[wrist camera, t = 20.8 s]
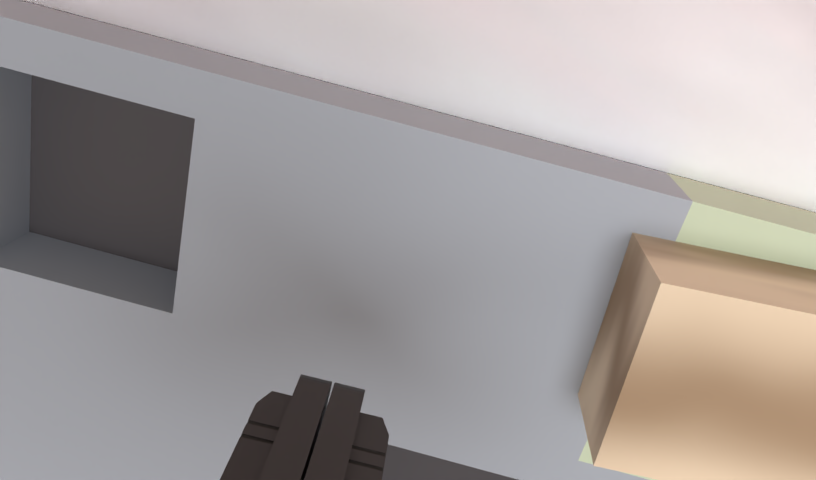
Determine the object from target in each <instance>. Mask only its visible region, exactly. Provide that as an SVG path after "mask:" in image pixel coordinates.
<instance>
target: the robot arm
mask: <svg viewBox="0 0 816 480" xmlns="http://www.w3.org/2000/svg"><path fill="white" fill-rule="evenodd" d="M331 386H332V382H331V381H327V380H323V379H319V378H315V377H311V376H307V375H303V374H301V375H300V378H299V380H298V382H297V385H296V387H295V390H294V392H293V395H292V396H291V395H287V394H283V393H279V392H275V391H271V392H270V393H269V394H267V395H266V396H265V397H263V398H262V399H261V400H259V401H258V402H257V403H256V404H255V406H254V408H253V411H252V413H251V415H250V417H249V419H248V422H247V423H246V425H245V427H244V429H243V432H242V434H241V437H240V438H239V440H238V442H237V444H236V446H235V448H234V451H233V453H232V455H231V457H230V459H229V461H228V463H227V465H226V467H225V470H224V472H223V474H222V476H221V478H220V480H382V476H383V469H384V464H385V458H386V452H387V446H388V440H389V434H388V431H387V428H386V426H385V423H384V420H383V418H382V417H378V416H374V415H369V414H365V413H361V412H360V411H361V406H362V402H363V398H364V394H365V390H364V389H360V388H356V387H352V386H348V385H344V384H340V383H336V382H335V383H334V386H333V389H332V392H331V395H330V391H331ZM329 395H330V399H329ZM328 399H329V402H328ZM327 404H328V405H327Z"/></svg>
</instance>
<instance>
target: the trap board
mask: <svg viewBox="0 0 816 480" xmlns="http://www.w3.org/2000/svg"><path fill="white" fill-rule="evenodd" d="M632 233H637V234H642V235H647V236H652V237H657V238H662V239H666V240H671V241H676V242H681V243H686V244H691V245H696V246H701V247H705V248H710V249H715V250H720V251H725V252H730V253H735V254H740V255H744V256H749V257H754V258H759V259H764V260H769V261H774V262H779V263H784V264H788V265H793V266H798V267H803V268H808V269H813V270H816V213H815V212H811V211H807V210H803V209H800V208H796V207H792V206H788V205H785V204H781V203H777V202H773V201H770V200H766V199H762V198H759V197H755V196H751V195H747V194H744V193H740V192H736V191H732V190H729V189H725V188H721V187H717V186H714V185H710V184H706V183H702V182H699V181H695V180H691V179H687V178H684V177H680V176H676V175H673V174H669V173H665V172H661V171H658V170H654V169H650V168H646V167H643V166H639V165H635V164H631V163H628V162H624V161H620V160H616V159H613V158H609V157H605V156H601V155H598V154H594V153H590V152H587V151H583V150H579V149H575V148H572V147H568V146H564V145H560V144H557V143H553V142H549V141H545V140H542V139H538V138H534V137H530V136H527V135H523V134H519V133H515V132H512V131H508V130H504V129H501V128H497V127H493V126H489V125H486V124H482V123H478V122H474V121H471V120H467V119H463V118H459V117H456V116H452V115H448V114H444V113H441V112H437V111H433V110H429V109H426V108H422V107H418V106H415V105H411V104H407V103H403V102H400V101H396V100H392V99H388V98H385V97H381V96H377V95H373V94H370V93H366V92H362V91H358V90H355V89H351V88H347V87H343V86H340V85H336V84H332V83H329V82H325V81H321V80H317V79H314V78H310V77H306V76H302V75H299V74H295V73H291V72H287V71H284V70H280V69H276V68H272V67H269V66H265V65H261V64H257V63H254V62H250V61H246V60H243V59H239V58H235V57H231V56H228V55H224V54H220V53H216V52H213V51H209V50H205V49H201V48H198V47H194V46H190V45H186V44H183V43H179V42H175V41H171V40H168V39H164V38H160V37H157V36H153V35H149V34H145V33H142V32H138V31H134V30H130V29H127V28H123V27H119V26H115V25H112V24H108V23H104V22H100V21H97V20H93V19H89V18H85V17H82V16H78V15H74V14H71V13H67V12H63V11H59V10H56V9H52V8H48V7H44V6H41V5H37V4H33V3H29V2H26V1H22V0H0V480H220V478H221V476H222V474H223V472H224V470H225V467H226V465H227V463H228V461H229V459H230V457H231V455H232V453H233V451H234V448H235V446H236V444H237V442H238V440H239V438H240V437H241V434H242V432H243V429H244V427H245V425H246V423H247V422H248V419H249V417H250V415H251V413H252V411H253V408H254V406H255V404H256V403H257V402H258V401H259V400H261V399H262V398H263V397H265V396H266V395H267V394H269V393H270V392H271V391H275V392H279V393H283V394H287V395H291V396H292V395H293V392H294V390H295V387H296V385H297V382H298V380H299V378H300V375H301V374H303V375H307V376H311V377H315V378H319V379H323V380H327V381H331V382H332V386H331V391H330V395H331V392H332V389H333V386H334V383H335V382H336V383H340V384H344V385H348V386H352V387H356V388H360V389H364V390H365V394H364V398H363V402H362V406H361V411H360V412H361V413H365V414H369V415H374V416H378V417H382V418H383V420H384V423H385V426H386V428H387V431H388V434H389V440H388V446H387V452H386V458H385V464H384V469H383V476H382V480H657V479H652V478H647V477H643V476H638V475H633V474H629V473H624V472H620V471H615V470H610V469H606V468H601V467H596V466H594V465H593V461H592V456H591V452H590V447H589V443H588V438H587V434H586V429H585V425H584V420H583V416H582V411H581V407H580V402H579V398H578V392H579V389H580V386H581V383H582V380H583V377H584V374H585V371H586V368H587V365H588V362H589V359H590V357H591V354H592V351H593V348H594V345H595V342H596V339H597V336H598V333H599V330H600V327H601V324H602V321H603V318H604V315H605V312H606V309H607V306H608V303H609V300H610V297H611V294H612V291H613V289H614V286H615V283H616V280H617V277H618V274H619V271H620V268H621V265H622V262H623V259H624V256H625V253H626V250H627V247H628V244H629V241H630V238H631V235H632ZM330 395H329V399H330ZM329 399H328V402H329ZM327 405H328V404H327Z"/></svg>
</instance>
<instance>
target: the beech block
mask: <svg viewBox="0 0 816 480" xmlns="http://www.w3.org/2000/svg"><path fill="white" fill-rule="evenodd" d="M578 398H579V402H580V407H581V411H582V416H583V420H584V425H585V429H586V434H587V438H588V443H589V447H590V452H591V456H592V461H593V465H594V466H596V467H601V468H606V469H610V470H615V471H620V472H624V473H629V474H633V475H638V476H643V477H647V478H652V479H657V480H816V270H813V269H808V268H803V267H798V266H793V265H788V264H784V263H779V262H774V261H769V260H764V259H759V258H754V257H749V256H744V255H740V254H735V253H730V252H725V251H720V250H715V249H710V248H705V247H701V246H696V245H691V244H686V243H681V242H676V241H671V240H666V239H662V238H657V237H652V236H647V235H642V234H637V233H632V235H631V238H630V241H629V244H628V247H627V250H626V253H625V256H624V259H623V262H622V265H621V268H620V271H619V274H618V277H617V280H616V283H615V286H614V289H613V291H612V294H611V297H610V300H609V303H608V306H607V309H606V312H605V315H604V318H603V321H602V324H601V327H600V330H599V333H598V336H597V339H596V342H595V345H594V348H593V351H592V354H591V357H590V359H589V362H588V365H587V368H586V371H585V374H584V377H583V380H582V383H581V386H580V389H579V392H578Z"/></svg>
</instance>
